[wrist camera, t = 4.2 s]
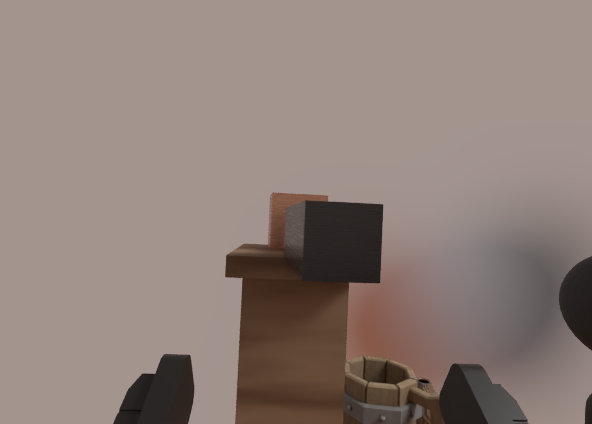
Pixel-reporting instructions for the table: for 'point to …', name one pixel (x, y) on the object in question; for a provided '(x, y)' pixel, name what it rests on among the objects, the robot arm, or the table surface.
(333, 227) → the orange and black bar
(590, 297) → the robot arm
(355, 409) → the tankard
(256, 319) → the walnut stand
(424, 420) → the vase
